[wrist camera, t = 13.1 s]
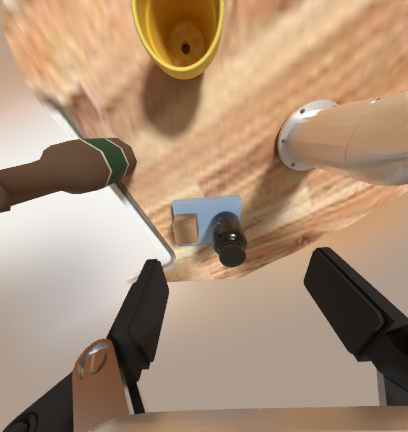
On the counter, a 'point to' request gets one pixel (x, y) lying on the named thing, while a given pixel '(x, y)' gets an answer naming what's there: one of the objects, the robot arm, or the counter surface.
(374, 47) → the counter surface
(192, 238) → the block
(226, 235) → the supplement bottle
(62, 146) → the beer bottle
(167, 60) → the plant pot
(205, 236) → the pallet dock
